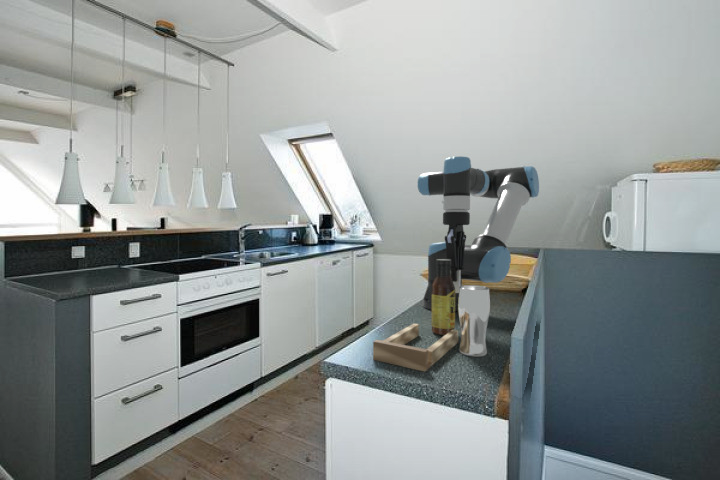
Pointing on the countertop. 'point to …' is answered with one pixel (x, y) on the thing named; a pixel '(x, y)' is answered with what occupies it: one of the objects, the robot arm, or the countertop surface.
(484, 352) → the beer glass
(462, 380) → the countertop surface
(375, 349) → the bracket
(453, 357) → the countertop surface
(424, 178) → the robot arm
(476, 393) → the countertop surface
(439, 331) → the sauce bottle
